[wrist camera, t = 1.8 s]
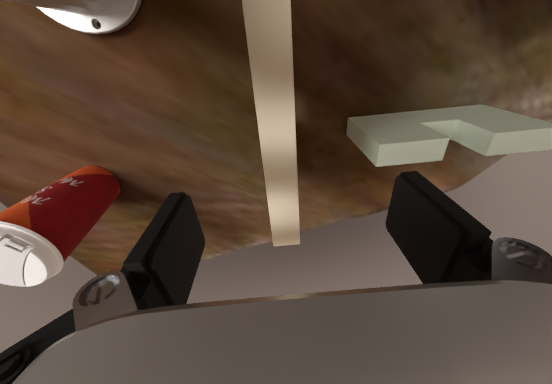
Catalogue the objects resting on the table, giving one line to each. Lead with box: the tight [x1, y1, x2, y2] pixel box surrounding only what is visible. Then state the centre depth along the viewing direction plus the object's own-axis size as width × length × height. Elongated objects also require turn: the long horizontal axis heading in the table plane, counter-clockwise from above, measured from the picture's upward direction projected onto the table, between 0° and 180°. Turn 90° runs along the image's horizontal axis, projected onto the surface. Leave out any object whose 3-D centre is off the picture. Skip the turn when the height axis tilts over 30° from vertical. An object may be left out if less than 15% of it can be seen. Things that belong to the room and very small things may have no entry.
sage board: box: [346, 104, 552, 167], centre depth 27 cm, size 2×18×10 cm, turn 95°
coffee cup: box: [0, 166, 120, 287], centre depth 28 cm, size 8×8×15 cm
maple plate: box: [242, 0, 300, 246], centre depth 22 cm, size 18×2×16 cm, turn 5°
